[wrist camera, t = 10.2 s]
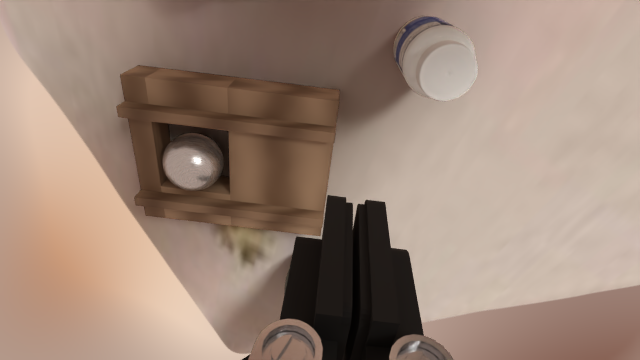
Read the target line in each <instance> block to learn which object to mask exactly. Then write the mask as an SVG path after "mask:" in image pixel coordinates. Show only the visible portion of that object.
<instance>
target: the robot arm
mask: <svg viewBox="0 0 640 360" xmlns="http://www.w3.org/2000/svg"><path fill="white" fill-rule="evenodd" d="M242 360H453V358H452V356H451V355H450V353H449V352H448V351H447V350H446V349H445V348H444V347H443V346H442V345H441V344H439V343H437V342H436V341H435V340H433V339H431V338H428V337H426V336H424V334H423V329H422V323H421V318H420V312H419V307H418V301H417V296H416V290H415V284H414V279H413V273H412V268H411V262H410V257H409V253H408V251H407V250H403V249H395V248H391V246H390V238H389V230H388V222H387V214H386V205H385V202H380V201H371V200H366V201H365V204H364V205H363V204H358V206H357V211H356V216H355V221H354V227H353V203H347V202H346V197H338V196H330V195H328V196H327V204H326V212H325V219H324V227H323V235H322V240H321V239H313V238H305V237H296V240H295V245H294V250H293V255H292V260H291V265H290V270H289V276H288V281H287V286H286V291H285V296H284V301H283V306H282V311H281V316H280V320H278V321H275V322H273V323H271V324H269V325H268V326H267V327H266V328H265V329H263V330H262V331H261V333H260V334H259V336H258V338H257V339H256V342H255V344H254V346H253V349H252V351H251V354H250V355H248V356H247V357H246V358H244V359H242Z"/></svg>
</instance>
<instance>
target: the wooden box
mask: <svg viewBox="0 0 640 360" xmlns="http://www.w3.org/2000/svg"><path fill="white" fill-rule="evenodd" d="M120 77H121V83H122V88H123V94H124V99H125V102H123V103H121V104H120V105H118V106H117V107H116V108H117V113H118V117H122V118H128V121H129V126H130V132H131V137H132V143H133V148H134V154H135V159H136V165H137V170H138V176H139V181H140V187H141V190H140V192H139V193H138V194H137V195H136V196H135V197H134V199H135V204H136V205H138V206H144V209H145V214H146V216H154V217H163V218H171V219H180V220H188V221H197V222H205V223H213V224H222V225H230V226H239V227H247V228H256V229H264V230H273V231H281V232H290V233H298V234H307V235H315V236H320V235H321V228H322V225H323V216H324V207H325V200H326V192H327V185H328V178H329V171H330V164H331V157H332V150H333V143H334V140H335V132H336V121H337V114H338V107H339V91H340V90H336V89H328V88H320V87H311V86H303V85H295V84H287V83H279V82H271V81H263V80H254V79H246V78H238V77H230V76H222V75H214V74H206V73H197V72H189V71H181V70H173V69H165V68H157V67H148V66H140V65H138V66H136V67H134V68H132V69H130V70H128V71H126V72H124V73H122V74H120ZM168 124H176V125H184V126H193V127H201V128H209V129H217V130H226V131H228V132H229V168H230V177H224V176H220V177H219V178H218V179H217V181H216V182H215V183H214V184H212V185H211V186H209V187H207V188H205V189H202V190H197V191H190V190H185V189H182V188H179V187H178V186H176V185H174V184H173V183H172V182H171V181H170V180H169V179H168V177H167V176H166V174H165V172H164V169H163V164H162V159H163V154H164V151H165V149H166V147H167V145H168V144H169V143H170V134H169V126H168Z"/></svg>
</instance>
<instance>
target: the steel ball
mask: <svg viewBox="0 0 640 360" xmlns="http://www.w3.org/2000/svg"><path fill="white" fill-rule="evenodd" d="M223 163H224V161H223V155H222V152H221V150H220V148H219V146H218V145H217V144H216V143H215V142H214V141H213V140H212V139H210V138H209V137H207V136H205V135H202V134H198V133H187V134H183V135H180V136H178V137H176V138H175V139H173V140H172V141H171V142H170V143H169V144H168V145H167V147H166V149H165V151H164V154H163V159H162V164H163V169H164V172H165V174H166V176H167V177H168V179H169V180H170V181H171V182H172V183H173V184H174V185H176V186H178V187H179V188H182V189H185V190H190V191H197V190H202V189H205V188H207V187H209V186H211V185H212V184H214V183H215V182H216V181H217V179H218V178H219V177H220V175H221V173H222V170H223Z"/></svg>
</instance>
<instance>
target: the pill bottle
mask: <svg viewBox="0 0 640 360" xmlns="http://www.w3.org/2000/svg"><path fill="white" fill-rule="evenodd" d="M393 53H394V58H395V61H396V63H397V65H398V67H399V69H400V71H401V73H402V74H403V76H404V78H405V80H406V82H407V84H408V85H409V87H410V88H411V89H412V90H413V91H414V92H416V93H417V94H419V95H421V96H424V97H427V98H432V99H434V100H437V101H450V100H454V99H456V98H458V97H460V96H462V95H463V94H465V93H466V92H467V91H468V90H469V89H470V88H471V86H472V85H473V83H474V81H475V79H476V76H477V71H478V65H477V60H476V54H475V49H474V45H473V43H472V41H471V39H470V38H469V37H468V36H467V35H466V34H465V33H464V32H463V31H462V30H460V29H458V28H456V27H454V26H453V25H451V24H449V23H447V22H445V21H443V20H442V19H439V18H437V17H434V16H420V17H416V18H414V19H412V20H410V21H409V22H407V23H406V24H405V25H404V26H403V27H402V28H401V29H400V31H399V32H398V34H397V36H396V39H395V42H394V47H393Z"/></svg>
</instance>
